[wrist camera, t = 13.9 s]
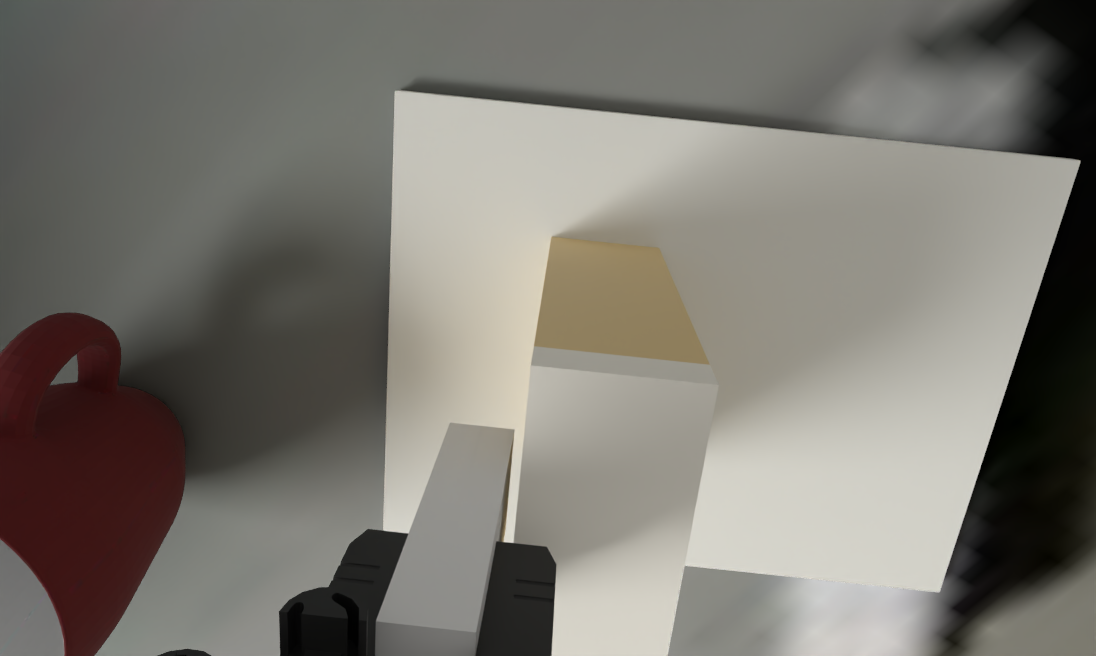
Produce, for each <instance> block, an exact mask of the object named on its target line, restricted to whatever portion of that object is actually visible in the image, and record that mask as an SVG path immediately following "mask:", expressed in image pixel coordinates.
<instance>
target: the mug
mask: <svg viewBox="0 0 1096 656" xmlns="http://www.w3.org/2000/svg"><path fill="white" fill-rule="evenodd" d="M76 354H77V360H78V382H75V383H64V384H57V385H51V386H49V385H50V384H51V382H52V381H53V379H54V378H55V376H56V375H57V374H58V372H59V371H60V370H61V369H62V367H63V366H64V365H65V364H66V363H67V362H68V361H69V360H70V359H71V358H72V357H73V356H74V355H76ZM120 365H121V347H120V343H119V341H118V339H117V337H116V335H115V333H114V331H113V330H112V329H111V328H110V327H109V326H107V325H106V324H105V323H103V322H102V321H100V320H97V319H95V318H93V317H90V316H88V315H84V314H80V313H57V314H54V315H50V316H47V317H45V318H43V319H41V320H39V321H37V322H35V323H34V324H32V325H31V326H29V327H28V328H26V329H25V330H23V331H22V332H21V333H20V334H19V335H17V336H16V337H15V338H14V339H13V340H12V341H11V342H10V343H9V344H8V345H7V346H6V348H5V349H4V350H3V351H2V352H1V353H0V656H94V655H95V654H96V653H97V652H98V650H99V649H100V648H101V647H102V645H103V644H104V642H105V641H106V640H107V638H108V637H109V635H110V634H111V633H112V631H113V630H114V628H115V627H116V625H117V624H118V622H119V621H120V619H121V618H122V616H123V614H124V612H125V611H126V609H127V607H128V605H129V603H130V602H131V600H132V598H133V596H134V594H135V592H136V590H137V589H138V587H139V585H140V583H141V581H142V579H143V577H144V576H145V574H146V572H147V570H148V568H149V566H150V564H151V563H152V561H153V559H154V557H155V555H156V553H157V551H158V550H159V548H160V546H161V544H162V542H163V540H164V538H165V537H166V535H167V533H168V531H169V529H170V527H171V525H172V523H173V521H174V519H175V517H176V515H177V512H178V510H179V507H180V504H181V500H182V496H183V491H184V484H185V440H184V435H183V432H182V429H181V426H180V424H179V422H178V420H177V419H176V417H175V416H174V414H173V413H172V411H171V410H170V409H169V408H168V407H167V406H166V405H165V404H164V403H163V402H161V401H160V400H159V399H157V398H156V397H154V396H152V395H151V394H149V393H146V392H144V391H142V390H139V389H136V388H132V387H126V386H118V379H119V372H120Z"/></svg>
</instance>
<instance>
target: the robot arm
mask: <svg viewBox="0 0 1096 656" xmlns="http://www.w3.org/2000/svg"><path fill="white" fill-rule="evenodd" d="M514 431H515V429H506V428H496V427H487V426H478V425H468V424H459V423H450V424H449V427H448V429H447V432H446V435H445V437H444V440H443V443H442V445H441V448H440V451H439V453H438V456H437V459H436V461H435V464H434V467H433V469H432V472H431V475H430V478H429V480H428V483H427V486H426V488H425V491H424V494H423V496H422V499H421V502H420V504H419V507H418V510H417V512H416V515H415V518H414V520H413V523H412V526H411V528H410V531H409V533H400V532H390V531H381V530H372V529H367V530H366V531H365V532H364V533H363V534H361V535H360V536H359V537H358V538H356V539H355V540H354V541H353V542H351V543H350V544H349V546H348V548H347V550H346V553H345V555H344V557H343V559H342V561H341V565H340V566H339V567H338V569H337V571H336V573H335V575H334V578H333V581H331V583H330V585H329V587H322V588H316V589H313V590H309V591H305V592H302V593H301V594H299V595H297V596H295V597H294V598H292V599H290V600H289V601H288V602H287V603H286V604H285V605H284V606H283V608H282V609H281V610H280V611H279V621H280V656H552V637H553V619H554V600H555V583H556V565H557V564H556V563H555V561H554V559H553V557H552V555H551V553H550V552H549V550H548V548H547V547H545V546H536V545H527V544H518V543H508V542H504V536H505V530H506V519H507V508H508V497H509V486H510V475H511V464H512V453H513V442H514ZM158 656H211V655H209V654H207V653H206V652H204V651H198V650H191V649H183V650H176V651H169V652H166V653H163V654H161V655H158Z"/></svg>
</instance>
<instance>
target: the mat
mask: <svg viewBox="0 0 1096 656" xmlns="http://www.w3.org/2000/svg"><path fill="white" fill-rule="evenodd" d="M1080 162H1081V161H1080V160H1075V159H1070V158H1061V157H1051V156H1041V155H1031V154H1021V153H1012V152H1002V151H992V150H982V149H972V148H963V147H953V146H943V145H933V144H923V143H914V142H904V141H894V140H884V139H874V138H865V137H855V136H845V135H835V134H825V133H816V132H806V131H796V130H786V129H776V128H767V127H757V126H747V125H737V124H727V123H718V122H708V121H698V120H688V119H678V118H669V117H659V116H649V115H639V114H629V113H620V112H610V111H600V110H590V109H580V108H571V107H561V106H551V105H541V104H532V103H522V102H512V101H502V100H492V99H483V98H473V97H463V96H453V95H443V94H434V93H424V92H414V91H404V90H396V91H395V105H394V143H393V180H392V218H391V256H390V294H389V331H388V369H387V407H386V445H385V482H384V520H383V531H390V532H400V533H409V531H410V528H411V526H412V523H413V520H414V518H415V515H416V512H417V510H418V507H419V504H420V502H421V499H422V496H423V494H424V491H425V488H426V486H427V483H428V480H429V478H430V475H431V472H432V469H433V467H434V464H435V461H436V459H437V456H438V453H439V451H440V448H441V445H442V443H443V440H444V437H445V435H446V432H447V429H448V427H449V424H450V423H459V424H468V425H478V426H487V427H496V428H506V429H515V431H514V442H513V453H512V464H511V475H510V486H509V497H508V508H507V519H506V530H505V536H504V542H508V543H514V533H515V522H516V512H517V502H518V492H519V481H520V471H521V461H522V451H523V440H524V430H525V420H526V409H527V399H528V389H529V379H530V368H531V361H532V355H533V348H534V342H535V336H536V330H537V323H538V317H539V311H540V305H541V298H542V292H543V286H544V280H545V273H546V267H547V261H548V255H549V248H550V242H551V237H560V238H570V239H579V240H589V241H598V242H608V243H617V244H627V245H637V246H646V247H656V248H659V249H660V251H661V253H662V255H663V258H664V260H665V262H666V265H667V267H668V269H669V272H670V274H671V276H672V279H673V281H674V283H675V285H676V288H677V290H678V292H679V295H680V297H681V299H682V302H683V304H684V306H685V308H686V311H687V313H688V315H689V318H690V320H691V322H692V325H693V327H694V329H695V331H696V334H697V336H698V338H699V341H700V343H701V345H702V348H703V350H704V352H705V355H706V357H707V359H708V361H709V364H710V366H711V368H712V371H713V373H714V375H715V378H716V380H717V382H718V384H719V387H718V392H717V397H716V403H715V408H714V413H713V418H712V424H711V429H710V434H709V439H708V445H707V450H706V455H705V461H704V466H703V471H702V476H701V482H700V487H699V492H698V497H697V503H696V508H695V513H694V519H693V524H692V529H691V534H690V540H689V545H688V550H687V555H686V561H685V566H693V567H702V568H712V569H721V570H731V571H740V572H750V573H759V574H769V575H779V576H788V577H798V578H807V579H817V580H826V581H836V582H845V583H855V584H864V585H874V586H883V587H893V588H902V589H912V590H921V591H931V592H940V589H941V586H942V583H943V580H944V577H945V574H946V571H947V568H948V565H949V562H950V559H951V556H952V553H953V550H954V547H955V543H956V540H957V537H958V534H959V531H960V528H961V525H962V522H963V519H964V516H965V513H966V510H967V507H968V504H969V501H970V498H971V495H972V492H973V488H974V485H975V482H976V479H977V476H978V473H979V470H980V467H981V464H982V461H983V458H984V455H985V452H986V449H987V446H988V443H989V440H990V437H991V434H992V430H993V427H994V424H995V421H996V418H997V415H998V412H999V409H1000V406H1001V403H1002V400H1003V397H1004V394H1005V391H1006V388H1007V385H1008V382H1009V379H1010V376H1011V372H1012V369H1013V366H1014V363H1015V360H1016V357H1017V354H1018V351H1019V348H1020V345H1021V342H1022V339H1023V336H1024V333H1025V330H1026V327H1027V324H1028V321H1029V317H1030V314H1031V311H1032V308H1033V305H1034V302H1035V299H1036V296H1037V293H1038V290H1039V287H1040V284H1041V281H1042V278H1043V275H1044V272H1045V269H1046V266H1047V263H1048V259H1049V256H1050V253H1051V250H1052V247H1053V244H1054V241H1055V238H1056V235H1057V232H1058V229H1059V226H1060V223H1061V220H1062V217H1063V214H1064V211H1065V208H1066V204H1067V201H1068V198H1069V195H1070V192H1071V189H1072V186H1073V183H1074V180H1075V177H1076V174H1077V171H1078V168H1079V165H1080Z"/></svg>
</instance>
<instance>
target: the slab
mask: <svg viewBox="0 0 1096 656" xmlns="http://www.w3.org/2000/svg"><path fill="white" fill-rule="evenodd" d="M718 387H719V384H718V382H717V380H716V378H715V375H714V373H713V371H712V368H711V366H710V364H709V361H708V359H707V357H706V355H705V352H704V350H703V348H702V345H701V343H700V341H699V338H698V336H697V334H696V331H695V329H694V327H693V325H692V322H691V320H690V318H689V315H688V313H687V311H686V308H685V306H684V304H683V302H682V299H681V297H680V295H679V292H678V290H677V288H676V285H675V283H674V281H673V279H672V276H671V274H670V272H669V269H668V267H667V265H666V262H665V260H664V258H663V255H662V253H661V251H660V249H659V248H656V247H646V246H637V245H627V244H617V243H608V242H598V241H589V240H579V239H570V238H560V237H551V242H550V248H549V255H548V261H547V267H546V273H545V280H544V286H543V292H542V298H541V305H540V311H539V317H538V323H537V330H536V336H535V342H534V348H533V355H532V361H531V368H530V379H529V389H528V399H527V409H526V420H525V430H524V440H523V451H522V461H521V471H520V481H519V492H518V502H517V512H516V522H515V533H514V543H518V544H527V545H536V546H545V547H547V548H548V550H549V552H550V553H551V555H552V557H553V559H554V561H555V563H556V564H557V565H556V583H555V600H554V619H553V637H552V656H668V650H669V645H670V640H671V635H672V629H673V624H674V619H675V614H676V608H677V603H678V598H679V592H680V587H681V582H682V577H683V571H684V566H685V561H686V555H687V550H688V545H689V540H690V534H691V529H692V524H693V519H694V513H695V508H696V503H697V497H698V492H699V487H700V482H701V476H702V471H703V466H704V461H705V455H706V450H707V445H708V439H709V434H710V429H711V424H712V418H713V413H714V408H715V403H716V397H717V392H718Z"/></svg>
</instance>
